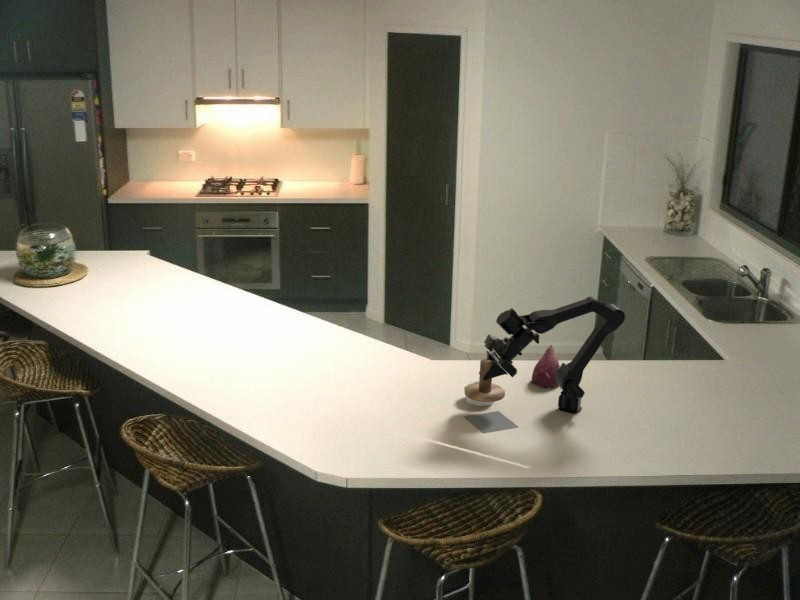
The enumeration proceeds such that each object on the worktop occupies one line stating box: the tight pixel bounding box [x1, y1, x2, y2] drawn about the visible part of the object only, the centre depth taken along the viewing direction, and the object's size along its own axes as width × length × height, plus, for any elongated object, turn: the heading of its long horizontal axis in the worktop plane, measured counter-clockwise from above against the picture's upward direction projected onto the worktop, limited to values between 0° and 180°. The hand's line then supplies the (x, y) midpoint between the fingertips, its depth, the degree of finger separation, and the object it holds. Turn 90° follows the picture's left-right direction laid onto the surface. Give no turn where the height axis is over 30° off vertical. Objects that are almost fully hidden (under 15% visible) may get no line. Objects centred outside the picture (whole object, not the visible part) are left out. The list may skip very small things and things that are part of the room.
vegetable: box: [531, 344, 561, 388], centre depth 355 cm, size 10×10×15 cm
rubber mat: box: [463, 410, 519, 434], centre depth 322 cm, size 13×13×1 cm
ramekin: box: [463, 380, 495, 407], centre depth 337 cm, size 11×11×5 cm
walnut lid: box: [464, 358, 506, 403], centre depth 324 cm, size 13×13×11 cm
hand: (481, 376), depth 323 cm, fingers closed on walnut lid, 4 cm apart
